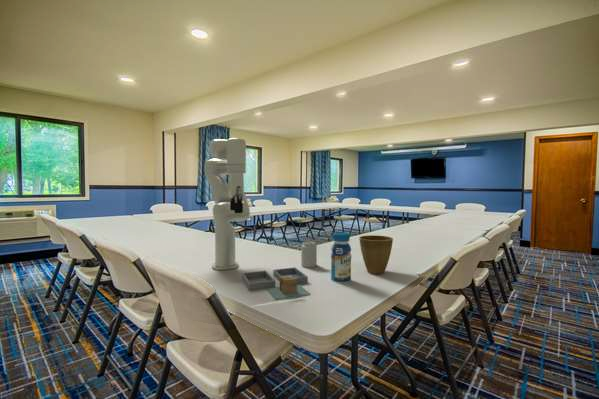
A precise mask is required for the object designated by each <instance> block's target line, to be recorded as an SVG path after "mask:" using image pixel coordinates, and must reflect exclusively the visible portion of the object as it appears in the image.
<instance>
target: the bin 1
mask: <svg viewBox="0 0 599 399" xmlns="http://www.w3.org/2000/svg"><path fill="white" fill-rule="evenodd" d="M241 280H242V281H243V283H244V286H245V287H246V288H247V290H248V291H249V292H250V291H251V292H252V291H257V290H265V289H266V290H267V288H273V287H276V280H275V278H274V277H273V276H271V274H270V273H269V272H268V271H267V270H259V271H251V272H250V271H249V272H242V273H241Z"/></svg>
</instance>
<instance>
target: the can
mask: <svg viewBox="0 0 599 399" xmlns="http://www.w3.org/2000/svg"><path fill="white" fill-rule="evenodd" d="M300 248H301V250H300V251H301V253H300V254H301V261H300V262H301V263H300V264H301V267H303V268H306V269H310V268H311V269H312V268H315V267H317V261H318V258H317V254H318V251H317V250H318V248H317V244H316V242H314V241H304V242H302V245H301V247H300Z"/></svg>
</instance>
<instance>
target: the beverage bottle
mask: <svg viewBox="0 0 599 399" xmlns="http://www.w3.org/2000/svg"><path fill="white" fill-rule="evenodd" d="M350 237H351V236H350V233H349V232H346V231H335V232H333V235H332V240H333V244H332V246H331V248H330V251H331V253H330V260H331V262H330V263H331V264H330V265H331V268H330V271H331V273H330V279H331V281H332V282H334V283H338V284H349V283H350V282H351V281H352V275H351V274H352V253H351V251H352V247H351V245H350V243H349V242H350Z"/></svg>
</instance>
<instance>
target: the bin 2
mask: <svg viewBox="0 0 599 399" xmlns="http://www.w3.org/2000/svg"><path fill="white" fill-rule="evenodd" d="M272 273H273V274H272V277H273V278H274V279H276V280H277V281H278V282H279V283H280V276H286V275H293V276H294V277H295V278H297V284H300V285H302V284H308V282H309V280H308V279H309V277H308V276H307V274H305V273H303V271H301V270H300V269H298V268H296V267H288V268H287V267H285V268H277V269H273V271H272Z"/></svg>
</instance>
